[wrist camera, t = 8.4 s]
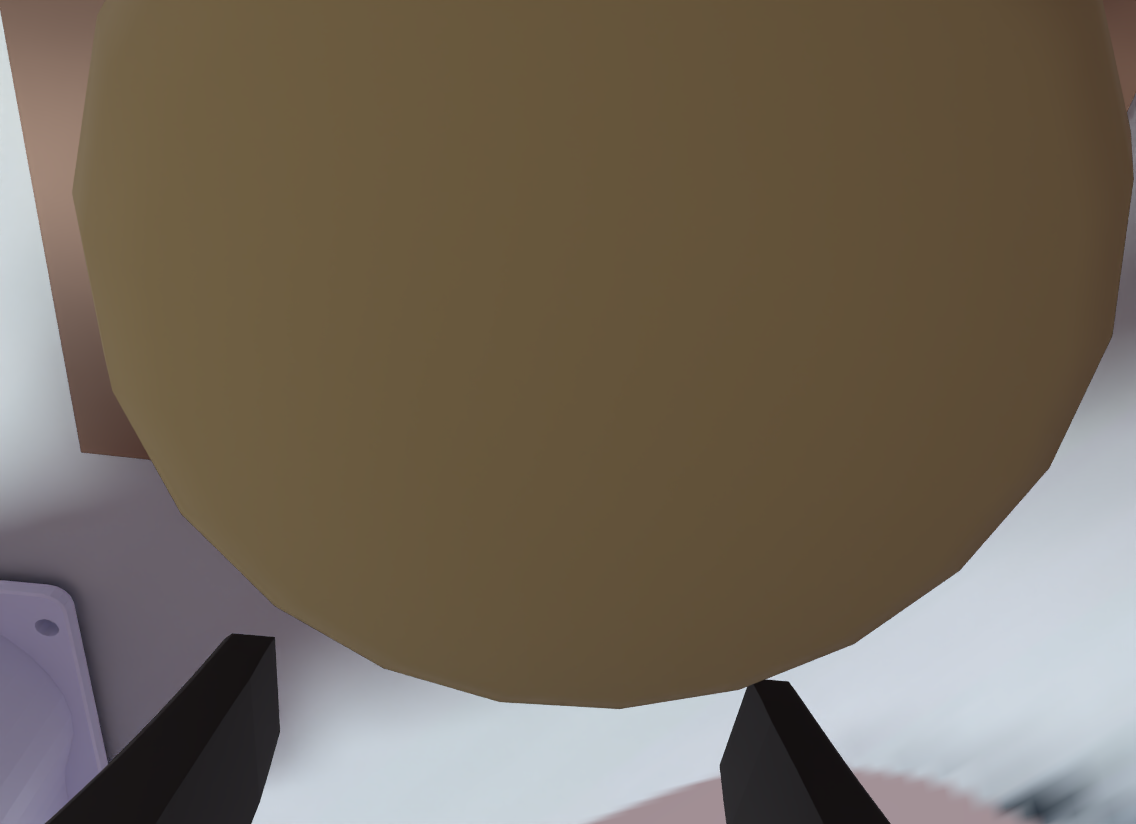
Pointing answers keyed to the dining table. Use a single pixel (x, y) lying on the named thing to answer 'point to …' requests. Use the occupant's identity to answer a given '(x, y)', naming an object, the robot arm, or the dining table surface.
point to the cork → (601, 311)
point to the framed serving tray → (51, 135)
